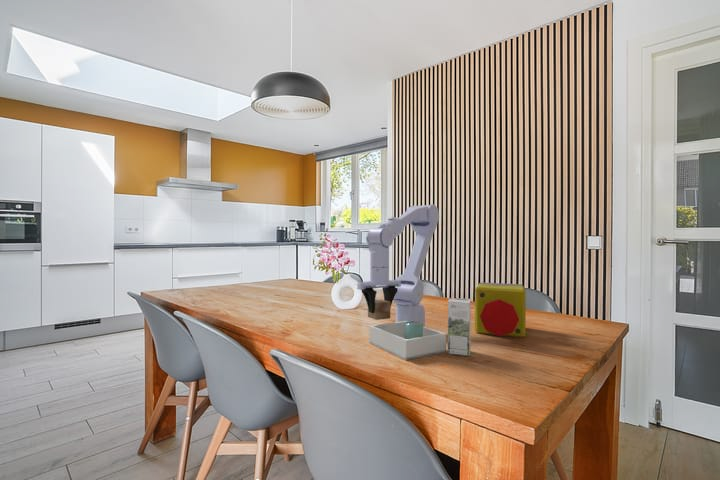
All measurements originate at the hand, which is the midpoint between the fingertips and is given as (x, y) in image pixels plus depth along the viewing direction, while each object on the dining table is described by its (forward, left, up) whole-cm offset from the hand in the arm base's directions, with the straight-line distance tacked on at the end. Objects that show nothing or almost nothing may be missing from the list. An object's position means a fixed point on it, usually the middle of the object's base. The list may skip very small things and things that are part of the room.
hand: (379, 311), depth 112 cm
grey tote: (-2, +11, -8) cm, 14 cm away
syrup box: (-11, +22, -9) cm, 26 cm away
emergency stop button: (-38, +14, -9) cm, 41 cm away
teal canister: (-1, +15, -8) cm, 17 cm away
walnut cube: (0, 0, -2) cm, 2 cm away
